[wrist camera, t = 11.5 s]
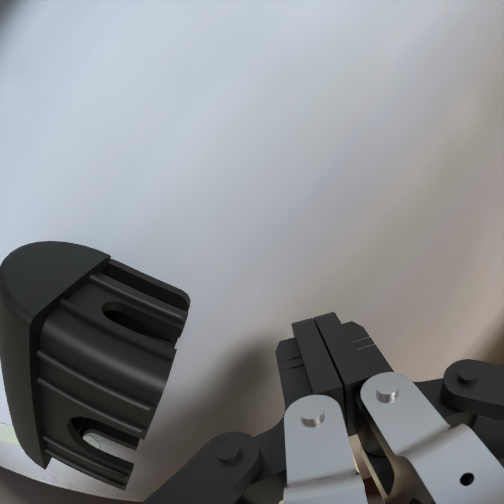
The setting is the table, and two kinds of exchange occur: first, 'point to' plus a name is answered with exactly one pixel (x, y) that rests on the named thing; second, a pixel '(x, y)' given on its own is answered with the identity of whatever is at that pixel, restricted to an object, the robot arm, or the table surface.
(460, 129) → the table surface
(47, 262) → the end cap
